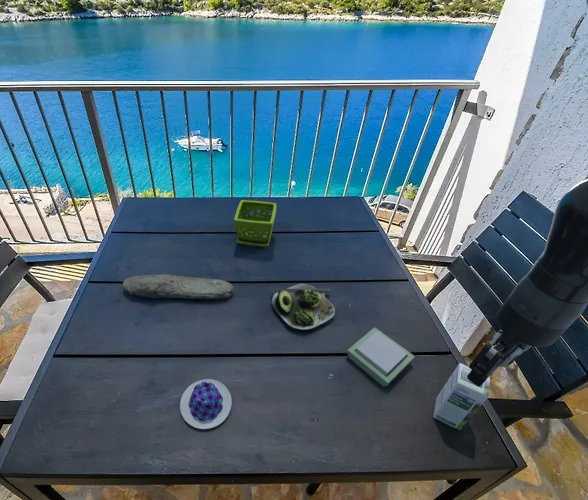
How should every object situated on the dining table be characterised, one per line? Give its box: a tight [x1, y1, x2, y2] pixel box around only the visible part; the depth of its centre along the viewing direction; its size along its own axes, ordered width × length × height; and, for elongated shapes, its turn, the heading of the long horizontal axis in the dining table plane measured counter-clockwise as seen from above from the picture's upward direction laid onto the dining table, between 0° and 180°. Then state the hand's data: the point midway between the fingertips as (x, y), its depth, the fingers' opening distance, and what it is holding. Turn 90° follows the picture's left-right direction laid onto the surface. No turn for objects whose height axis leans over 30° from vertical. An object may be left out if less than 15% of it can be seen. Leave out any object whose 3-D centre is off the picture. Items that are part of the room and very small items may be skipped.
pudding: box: [179, 378, 233, 430], centre depth 80 cm, size 12×12×5 cm
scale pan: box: [355, 331, 408, 376], centre depth 89 cm, size 9×9×2 cm
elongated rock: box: [121, 273, 235, 300], centre depth 109 cm, size 35×5×10 cm
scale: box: [346, 326, 416, 388], centre depth 90 cm, size 12×12×3 cm
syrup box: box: [432, 362, 491, 431], centre depth 75 cm, size 6×6×14 cm
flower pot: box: [233, 199, 277, 249], centre depth 128 cm, size 14×14×13 cm
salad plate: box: [269, 283, 336, 332], centre depth 104 cm, size 19×18×5 cm
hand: (489, 370), depth 60 cm, fingers open, 8 cm apart
